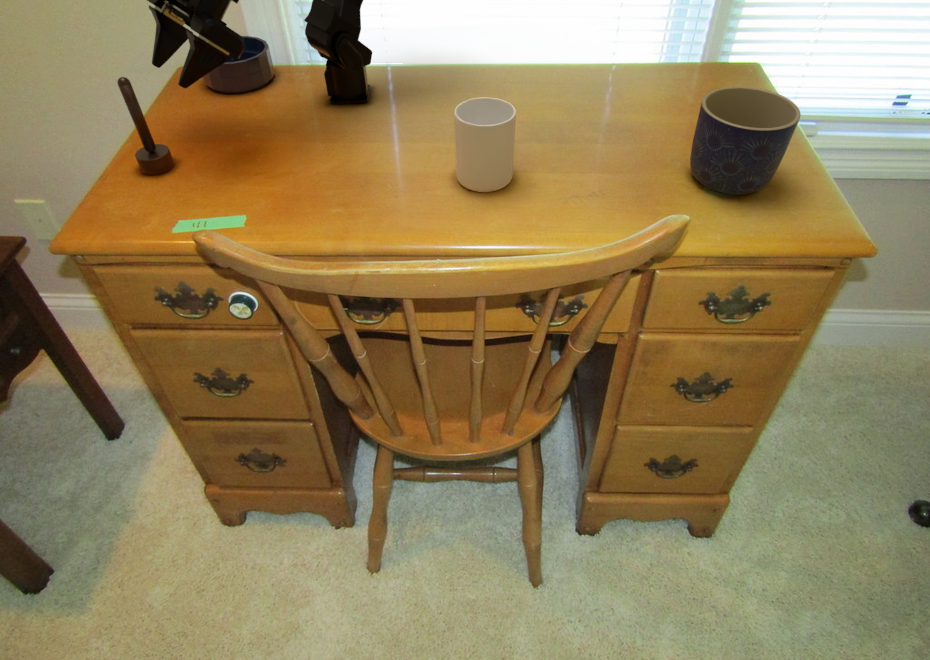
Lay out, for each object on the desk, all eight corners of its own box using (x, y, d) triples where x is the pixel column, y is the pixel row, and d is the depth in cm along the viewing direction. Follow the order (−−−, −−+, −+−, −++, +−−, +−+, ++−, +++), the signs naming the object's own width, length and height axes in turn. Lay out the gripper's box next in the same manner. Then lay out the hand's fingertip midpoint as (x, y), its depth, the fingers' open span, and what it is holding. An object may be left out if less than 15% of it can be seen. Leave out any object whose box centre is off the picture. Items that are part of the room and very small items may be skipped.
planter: (695, 204, 87) (717, 130, 79) (674, 157, 95) (691, 86, 88) (785, 202, 87) (816, 128, 79) (756, 155, 95) (781, 85, 88)
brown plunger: (178, 158, 97) (145, 69, 87) (169, 174, 94) (133, 84, 84) (147, 159, 97) (110, 70, 87) (136, 175, 94) (97, 85, 84)
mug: (453, 151, 97) (451, 86, 90) (506, 149, 98) (508, 84, 90) (457, 195, 89) (456, 127, 82) (516, 192, 89) (519, 124, 82)
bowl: (280, 64, 121) (273, 34, 117) (268, 93, 112) (260, 62, 108) (215, 66, 121) (206, 36, 117) (198, 95, 112) (187, 64, 108)
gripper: (135, -81, 85) (87, 26, 88) (195, -52, 75) (138, 67, 78) (208, -28, 94) (162, 67, 97) (269, 4, 84) (216, 108, 87)
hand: (168, 76), depth 89 cm, fingers open, 9 cm apart
